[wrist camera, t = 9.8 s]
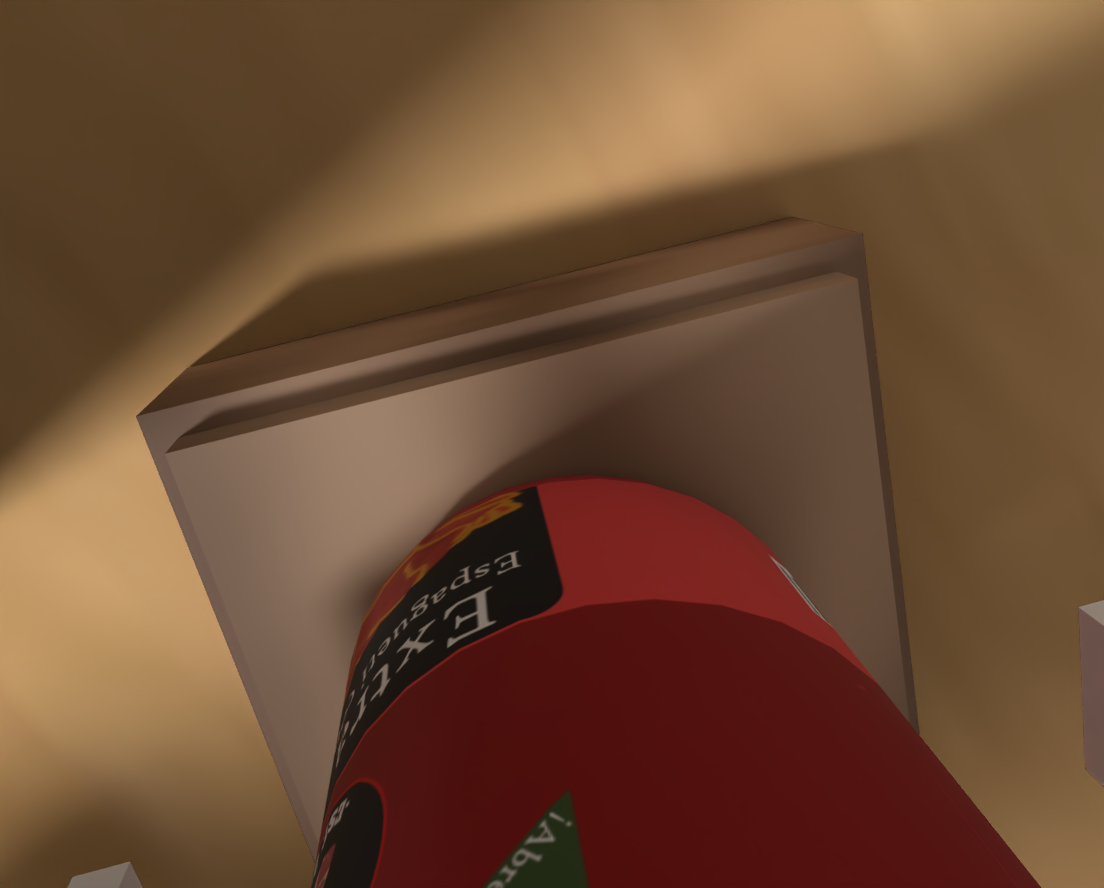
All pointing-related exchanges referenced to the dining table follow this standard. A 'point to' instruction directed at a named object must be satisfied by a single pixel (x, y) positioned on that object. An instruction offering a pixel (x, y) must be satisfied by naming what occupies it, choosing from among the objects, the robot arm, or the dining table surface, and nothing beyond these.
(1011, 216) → the dining table surface
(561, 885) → the canned food
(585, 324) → the plinth
